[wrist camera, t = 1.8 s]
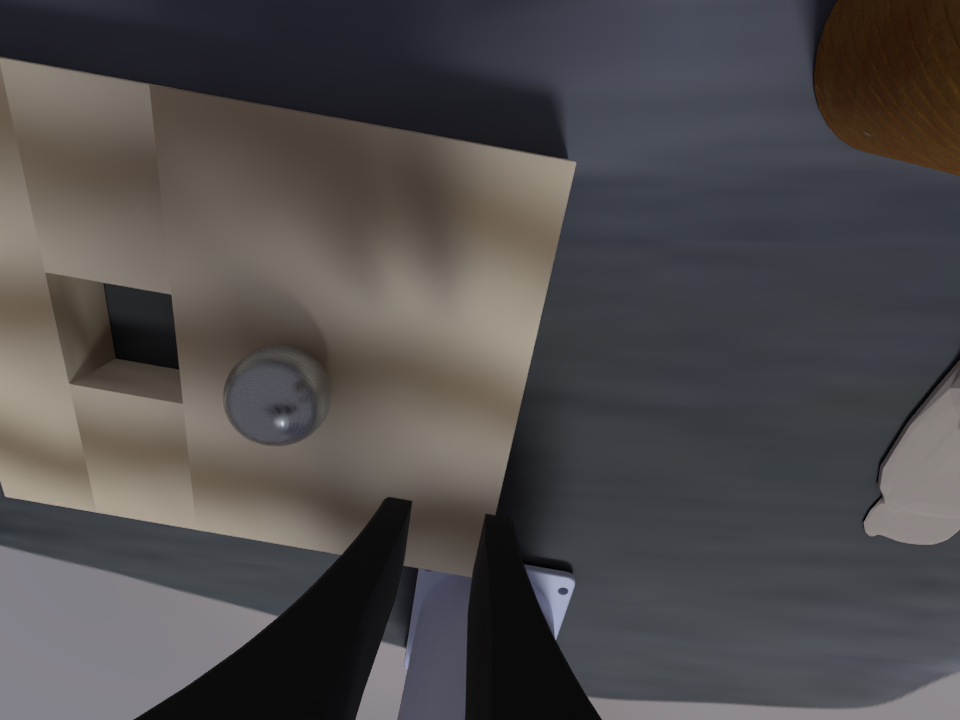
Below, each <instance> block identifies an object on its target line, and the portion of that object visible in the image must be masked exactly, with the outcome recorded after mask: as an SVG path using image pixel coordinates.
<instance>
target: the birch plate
mask: <svg viewBox="0 0 960 720" xmlns="http://www.w3.org/2000/svg"><path fill="white" fill-rule="evenodd" d="M575 166H576V162H574V161H572V160H569V159H564V158H558V157H552V156H547V155H541V154H536V153H530V152H525V151H519V150H514V149H508V148H503V147H497V146H492V145H486V144H481V143H475V142H470V141H464V140H459V139H453V138H448V137H442V136H437V135H431V134H425V133H420V132H414V131H409V130H403V129H398V128H392V127H387V126H381V125H376V124H370V123H365V122H359V121H354V120H348V119H343V118H337V117H332V116H326V115H321V114H315V113H309V112H304V111H298V110H293V109H287V108H282V107H276V106H271V105H265V104H260V103H254V102H249V101H243V100H238V99H232V98H227V97H221V96H216V95H210V94H205V93H199V92H193V91H188V90H182V89H177V88H171V87H166V86H160V85H155V84H149V83H144V82H138V81H133V80H127V79H122V78H116V77H111V76H105V75H100V74H94V73H89V72H83V71H77V70H72V69H66V68H61V67H55V66H50V65H44V64H39V63H33V62H28V61H22V60H17V59H11V58H6V57H0V481H1V485H2V488H3V491H4V494H5V497H10V498H16V499H22V500H28V501H33V502H39V503H45V504H51V505H57V506H62V507H68V508H74V509H80V510H85V511H91V512H97V513H103V514H108V515H114V516H120V517H126V518H132V519H137V520H143V521H149V522H155V523H160V524H166V525H172V526H178V527H183V528H189V529H195V530H201V531H207V532H212V533H218V534H224V535H230V536H235V537H241V538H247V539H253V540H258V541H264V542H270V543H276V544H281V545H287V546H293V547H299V548H305V549H310V550H316V551H322V552H328V553H333V554H339V555H342V554H343V553H344V551H345V550H346V549H347V548H348V547H349V546H350V544H351V543H352V542H353V541H354V540H355V538H356V537H357V536H358V535H359V534H360V532H361V531H362V530H363V529H364V527H365V526H366V525H367V523H368V522H369V521H370V519H371V518H372V517H373V515H374V514H375V512H376V511H377V509H378V508H379V506H380V505H381V503H382V502H383V500H384V499H385V498H387V497H394V498H399V499H405V500H411V501H412V508H411V515H410V523H409V530H408V537H407V545H406V552H405V560H404V564H403V566H408V567H414V568H420V569H426V570H431V571H437V572H443V573H449V574H455V575H460V576H466V577H472V573H473V568H474V563H475V559H476V554H477V549H478V545H479V540H480V536H481V531H482V527H483V522H484V517H485V514H491V515H496V510H497V506H498V501H499V497H500V493H501V488H502V484H503V480H504V475H505V471H506V467H507V462H508V458H509V454H510V449H511V445H512V441H513V436H514V432H515V427H516V423H517V419H518V414H519V410H520V406H521V401H522V397H523V393H524V388H525V384H526V380H527V375H528V371H529V367H530V362H531V358H532V354H533V349H534V345H535V340H536V336H537V332H538V327H539V323H540V319H541V314H542V310H543V306H544V301H545V297H546V293H547V288H548V284H549V280H550V275H551V271H552V266H553V262H554V258H555V253H556V249H557V245H558V240H559V236H560V232H561V227H562V223H563V219H564V214H565V210H566V206H567V201H568V197H569V192H570V188H571V184H572V179H573V175H574V171H575ZM103 283H108V284H114V285H120V286H125V287H131V288H137V289H142V290H148V291H154V292H159V293H165V294H170V295H172V305H173V314H174V323H175V333H176V342H177V352H178V361H179V370H178V369H172V368H167V367H161V366H155V365H150V364H144V363H138V362H133V361H127V360H121V359H116V357H115V351H114V345H113V339H112V333H111V327H110V321H109V315H108V309H107V303H106V297H105V291H104V285H103ZM275 345H282V346H290V347H294V348H298V349H300V350H303V351H305V352H307V353H308V354H310V355H311V356H312V357H314V358H315V359H316V360H317V361H318V362H319V363H320V364H321V365H322V367H323V368H324V369H325V371H326V373H327V375H328V377H329V380H330V384H331V389H332V400H331V405H330V409H329V412H328V414H327V416H326V418H325V420H324V421H323V423H322V424H321V426H320V427H319V428H318V429H317V430H316V431H315V432H314V433H312V434H311V435H310V436H309V437H307V438H305V439H303V440H302V441H300V442H297V443H294V444H291V445H286V446H265V445H261V444H258V443H255V442H252V441H250V440H248V439H247V438H245V437H243V436H242V435H241V434H240V433H238V432H237V431H236V430H235V428H234V427H233V426H232V425H231V423H230V422H229V420H228V418H227V416H226V413H225V410H224V406H223V389H224V385H225V382H226V379H227V376H228V375H229V373H230V371H231V370H232V368H233V367H234V366H235V364H236V363H237V362H238V361H240V360H241V359H242V358H243V357H244V356H246V355H248V354H249V353H251V352H253V351H255V350H257V349H260V348H263V347H268V346H275Z"/></svg>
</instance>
